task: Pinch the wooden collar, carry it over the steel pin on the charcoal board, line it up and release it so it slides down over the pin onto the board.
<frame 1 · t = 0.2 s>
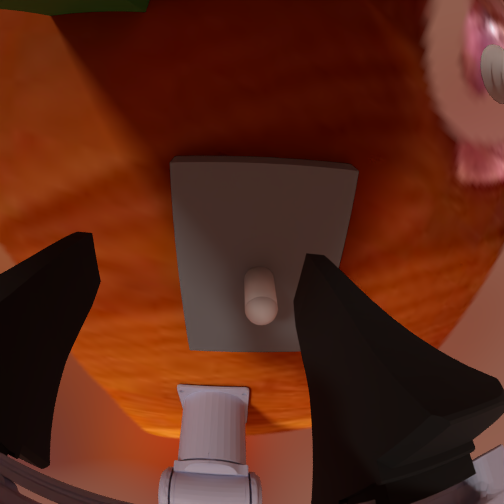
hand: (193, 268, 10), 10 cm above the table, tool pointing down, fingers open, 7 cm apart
pin board: (258, 266, 22), on the table
chalice: (498, 74, 13), on the table
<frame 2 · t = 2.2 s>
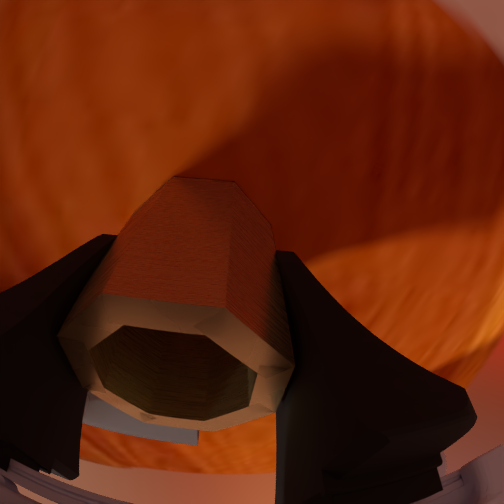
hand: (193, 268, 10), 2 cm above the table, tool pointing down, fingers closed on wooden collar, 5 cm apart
pin board: (81, 375, 16), on the table
wooden collar: (199, 243, 11), on the table, touching gripper
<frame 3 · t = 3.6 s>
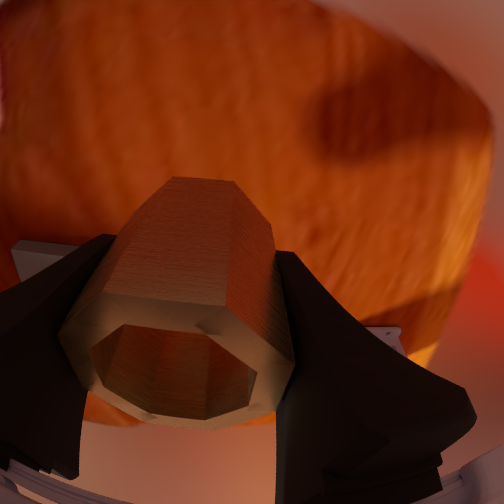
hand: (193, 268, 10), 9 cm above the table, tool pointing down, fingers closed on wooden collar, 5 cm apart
pin board: (110, 305, 22), on the table
wooden collar: (199, 243, 11), point 7 cm above the table, touching gripper
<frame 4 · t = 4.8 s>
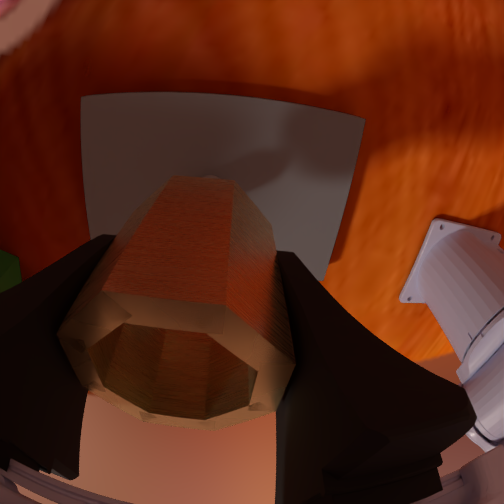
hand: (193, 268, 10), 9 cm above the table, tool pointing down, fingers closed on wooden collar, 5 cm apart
pin board: (212, 183, 18), on the table
wooden collar: (199, 242, 11), point 8 cm above the table, touching gripper
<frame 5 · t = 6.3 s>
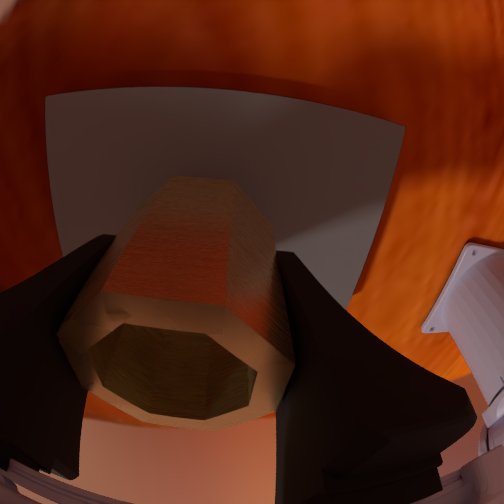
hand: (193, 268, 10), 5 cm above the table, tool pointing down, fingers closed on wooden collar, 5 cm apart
pin board: (210, 203, 14), on the table
wooden collar: (199, 242, 11), point 4 cm above the table, touching gripper
when the fingers open (5 cm above the table, at t = 7.4 s): wooden collar drops 2 cm, resting on pin board.
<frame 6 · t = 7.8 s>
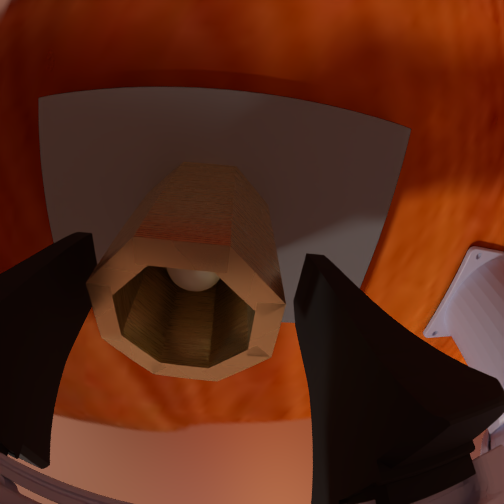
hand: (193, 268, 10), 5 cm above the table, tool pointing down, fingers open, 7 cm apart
pin board: (208, 207, 14), on the table
wooden collar: (205, 220, 12), point 1 cm above the table, touching pin board
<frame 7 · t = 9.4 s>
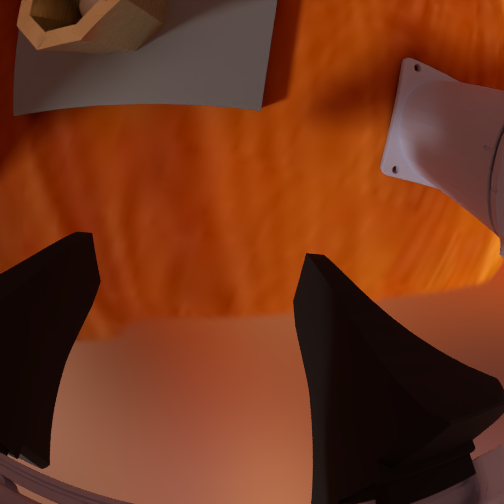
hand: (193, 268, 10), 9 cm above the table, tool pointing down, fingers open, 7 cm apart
pin board: (133, 17, 12), on the table
wooden collar: (124, 12, 10), point 1 cm above the table, touching pin board
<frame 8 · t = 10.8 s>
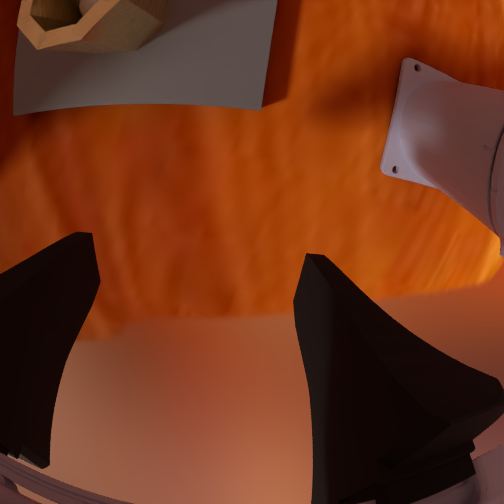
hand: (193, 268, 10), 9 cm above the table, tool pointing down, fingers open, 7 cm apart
pin board: (133, 17, 12), on the table
wooden collar: (124, 12, 10), point 1 cm above the table, touching pin board
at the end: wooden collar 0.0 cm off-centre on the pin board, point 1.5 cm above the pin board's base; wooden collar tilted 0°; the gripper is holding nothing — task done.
